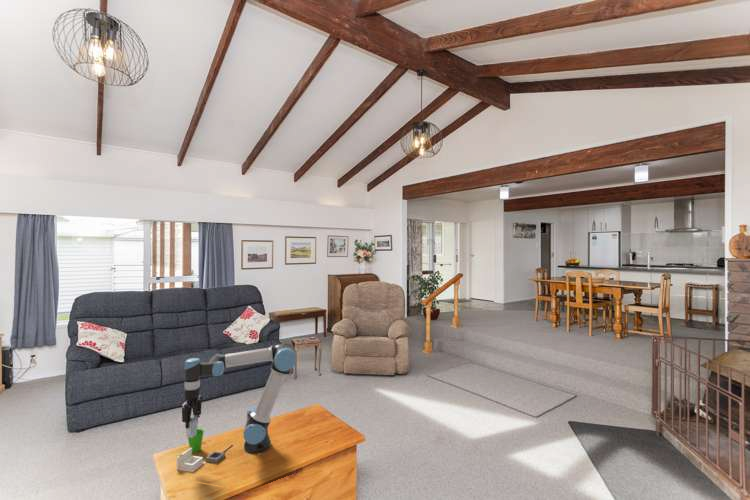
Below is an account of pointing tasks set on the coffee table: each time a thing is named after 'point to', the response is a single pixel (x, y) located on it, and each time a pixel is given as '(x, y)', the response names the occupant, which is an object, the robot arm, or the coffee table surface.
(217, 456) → the grey square socket
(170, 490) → the coffee table surface
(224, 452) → the cord
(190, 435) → the plug
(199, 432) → the cup
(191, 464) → the tray
